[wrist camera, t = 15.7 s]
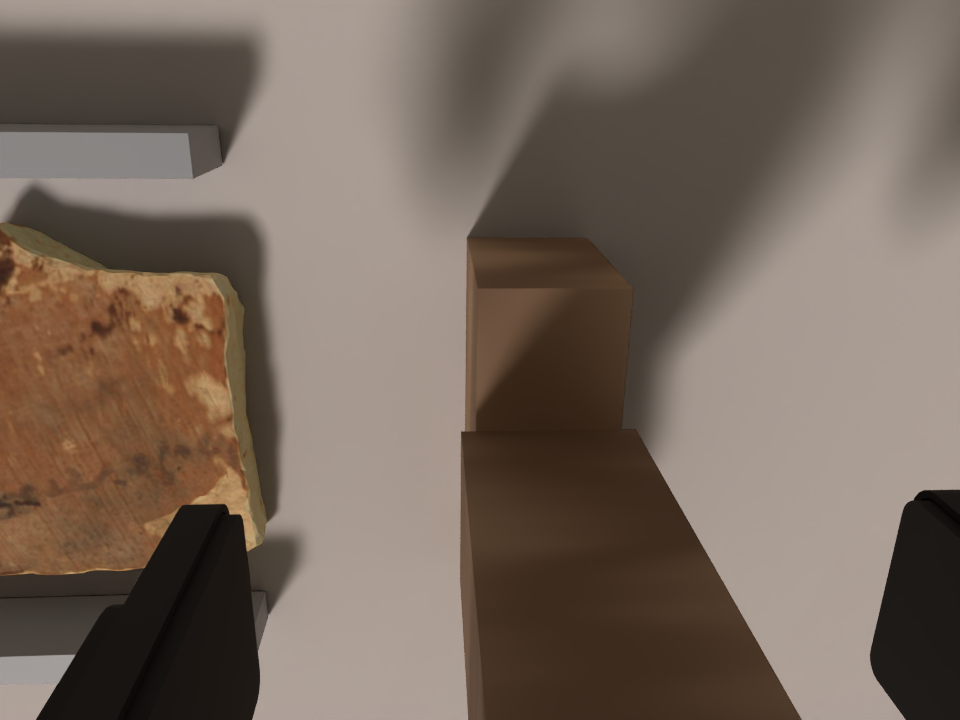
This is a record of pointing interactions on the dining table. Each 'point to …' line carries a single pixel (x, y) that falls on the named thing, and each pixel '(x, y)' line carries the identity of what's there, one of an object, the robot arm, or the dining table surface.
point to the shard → (115, 408)
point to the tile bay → (89, 154)
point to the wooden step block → (580, 516)
